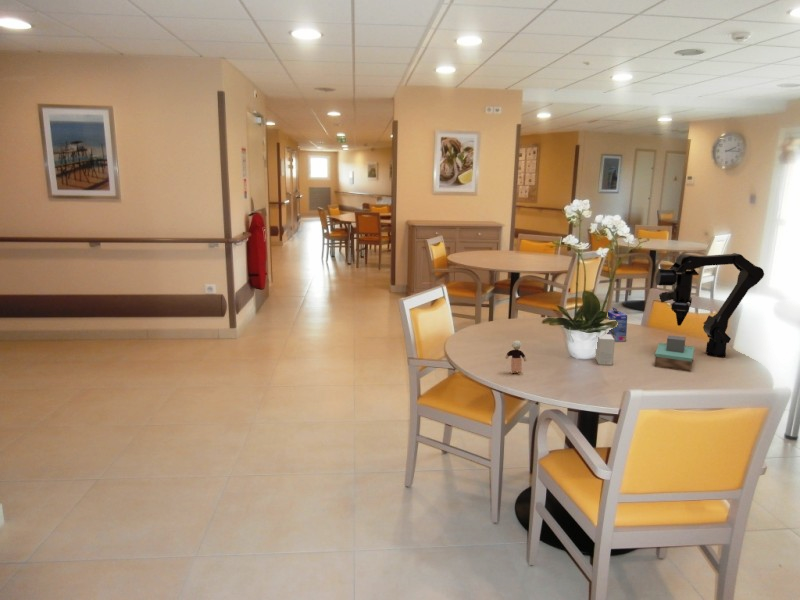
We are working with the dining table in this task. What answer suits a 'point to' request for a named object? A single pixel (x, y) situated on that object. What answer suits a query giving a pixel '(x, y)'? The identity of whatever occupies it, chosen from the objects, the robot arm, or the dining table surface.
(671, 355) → the lid
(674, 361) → the storage box
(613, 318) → the ink cartridge box
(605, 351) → the small box
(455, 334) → the dining table surface
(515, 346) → the grandmother figurine
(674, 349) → the block
